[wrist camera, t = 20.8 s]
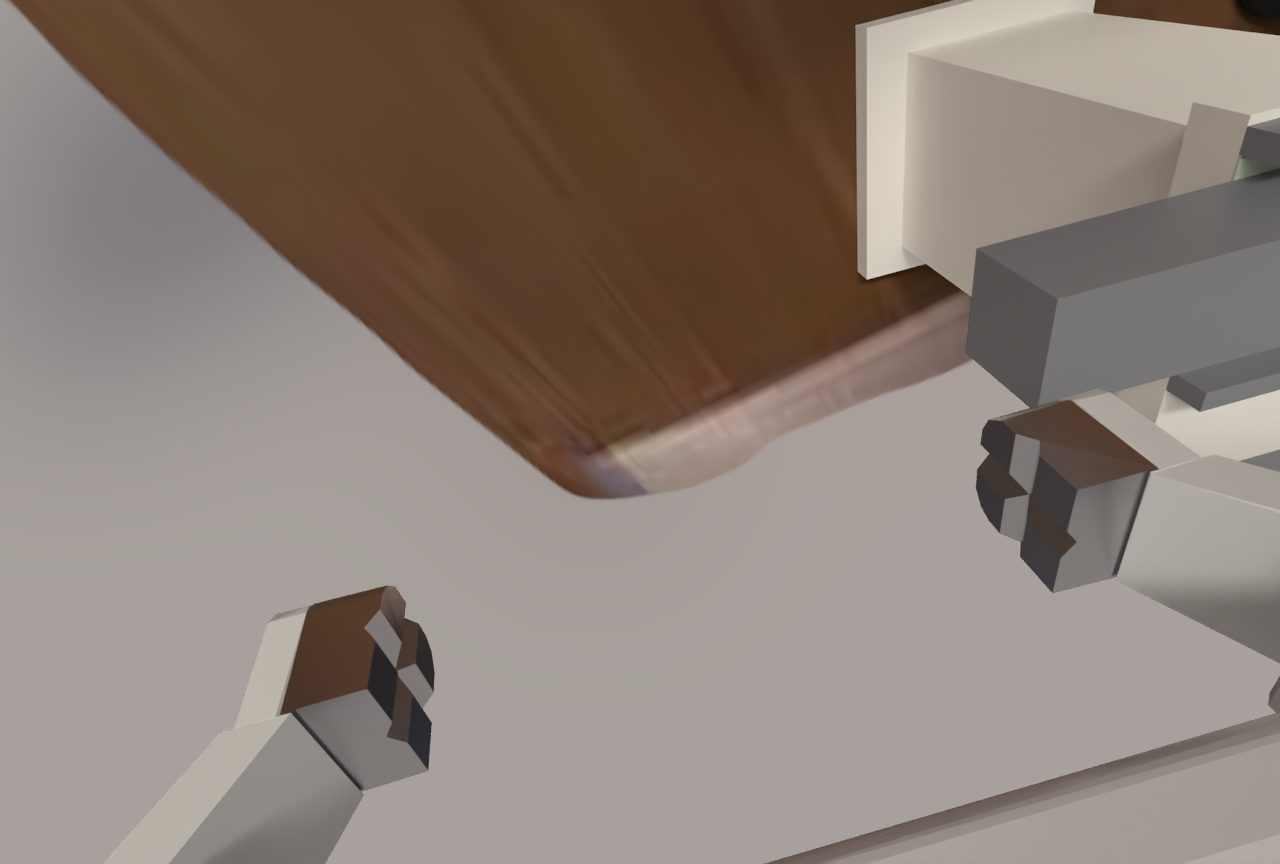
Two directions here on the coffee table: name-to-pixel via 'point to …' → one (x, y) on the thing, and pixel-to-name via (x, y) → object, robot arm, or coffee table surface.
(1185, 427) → the tester stand
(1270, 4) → the webcam
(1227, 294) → the long grey square bar
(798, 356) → the coffee table surface
